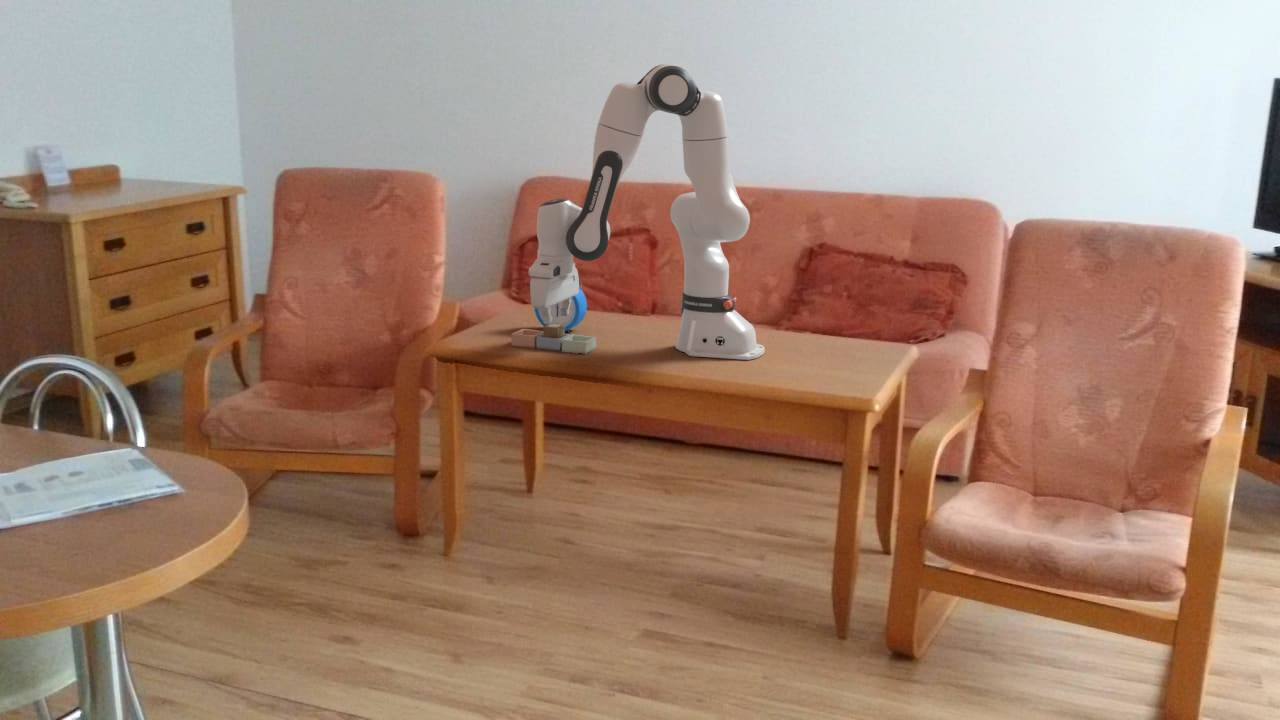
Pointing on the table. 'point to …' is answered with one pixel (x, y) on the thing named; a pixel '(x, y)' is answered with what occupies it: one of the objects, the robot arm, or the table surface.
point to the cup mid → (550, 343)
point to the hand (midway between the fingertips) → (556, 319)
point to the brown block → (554, 331)
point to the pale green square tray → (578, 344)
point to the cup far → (526, 338)
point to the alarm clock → (575, 311)
